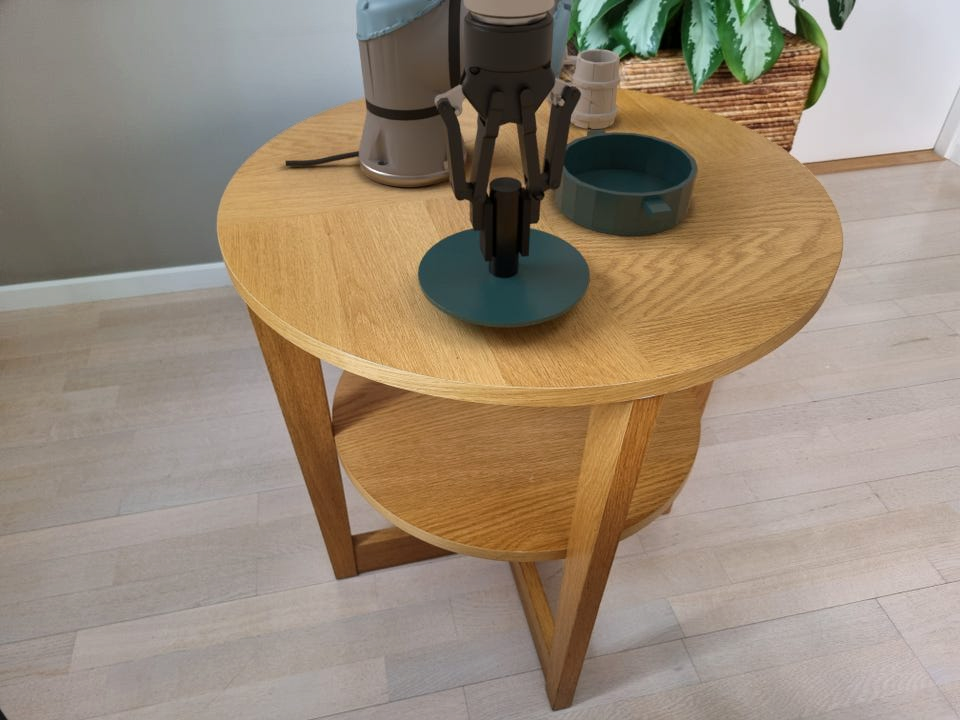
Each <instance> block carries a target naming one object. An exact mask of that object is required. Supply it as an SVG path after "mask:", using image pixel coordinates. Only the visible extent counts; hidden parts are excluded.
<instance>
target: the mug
mask: <svg viewBox="0 0 960 720" xmlns="http://www.w3.org/2000/svg"><path fill="white" fill-rule="evenodd" d="M568 51H569V50H568V45H567V44H566V48H565V53H564V58H563V63H562V68H563V67H564V66H565V65H571V66H572V65H573V66H575V71H574V72H573V74H572V82H573V84H574V85H575V86H576V87H577V88H578V89H579V90H580V92H581V97H580V99H579V101H578V103H577V105H576V107H575V109H574V111H573V113H572V115H571V121H570V124H573V125H574V126H575V127H578V128H581V129H585V130H587V129H590V130H600V129H605V128H608V127H611V126H613V124H614V123H615V119H616V117H617V116H618V112H619V108H618V105H617V94H618V85H619V84H620V83H621V75H620V74H619V72H620V71H619V70H620V61H621V60H620V59H621V58H620V56H619V55H620V54H618V53H617V52H615V51H611V50H609V49H600V48H598V49H597V48H593V49H585V50H581V51H580V52H578V53H577V55H570V54H568V53H569V52H568ZM550 96H551V92H550V93H549V94H548V96H547V97H546V99H545V101H546V103H548V107H549V109H550V110H551V106H552V103H553V102H552V101H551V99H550Z"/></svg>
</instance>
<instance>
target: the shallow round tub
mask: <svg viewBox="0 0 960 720" xmlns="http://www.w3.org/2000/svg"><path fill="white" fill-rule="evenodd" d="M698 171H699V167H698V165H697V162H696V159H695V158H694V157H693V156H692V155H691V154H690V153H689V152H688V150H687V149H685V148H683V147H682V146H679V145H678V144H675V143H674V142H672V141H669V140H666V139H663V138H660V137H657V136H653V135H648V134H641V133H636V132H618V131H611V132H610V131H609V132H607V131H606V130H605V128H602V129H590V130H587V132H586V136H581V137H577V138H575V139H574V140H572V141H570V142H567V147H566V153H565V159H564V166H563V172H562V178H561V184H560V187H559V188H557V189H555V190H554V202H555V205H556V207H557V209H558V210H559V212H560V213H561V214H562V215H563V217H565V218H567V220H569V221H571V222H573V223H575V224H576V225H578V226H580V227H583V228H585V229H588V230H591V231H594V232H598V233H603V234H607V235H614V236H627V237H628V236H629V237H631V236H633V237H634V236H636V237H638V236H647V235H648V236H649V235H653V234H657V233H658V234H659V233H663V232H665V231H668V230H670V229H672V228H674V227H676V226H677V225H679V224H680V223H681V222H683V220H684V219H685V218H686V217H687V215H688V212H689V209H690V207H691V202H692V199H693V194H694V189H695V186H696V180H697V177H698Z"/></svg>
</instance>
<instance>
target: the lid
mask: <svg viewBox="0 0 960 720" xmlns="http://www.w3.org/2000/svg"><path fill="white" fill-rule="evenodd" d="M522 187H523V184H522V182H521V181H520V180H519V179H517V178H515V177H511V176H500V177H496V178H493V179H492V180H491V181H490V182H489V183H488V192H489V193H488V195H489V198H490V200H491V202H492V204H493V246H492V261H486V262H485V260H484V257H483V255H482V252H481V250H480V231H474V229H473V227H472V228H468V229H464V230H461V231H458V232H456V233H453V234H450V235H448V236H446V237H444V238H442V239H440V240H439V241H438V242H436V243H434V245H432V246H430V248H429V249H428V250H427V251H426V252H425V253H424V255H423V256H422V258H421V260H420V262H419V265H418V268H417V280H418V285H419V288H420V291H421V292H422V294H423V296H424V297H425V299H426V300H427V301H428V302H429V303H430V304H431V305H432V306H434V307H435V308H436V309H437V310H439V311H441V313H444V314H445V315H447V316H449V317H452V318H454V319H456V320H459V321H461V322H464V323H468V324H473V325H476V326H483V327H489V328H521V327H522V328H523V327H528V326H529V327H530V326H534V325H539V324H542V323H543V324H544V323H546V322H550V321H551V320H554V319H557V318H559V317H561V316H563V315H565V314H566V313H568V312H570V311H571V310H572V309H574V308H575V307H576V306H578V304H579V303H580V302H581V301H582V300H583V298H584V297H585V295H586V294H587V292H588V289H589V285H590V279H591V273H590V267H589V264H588V262H587V260H586V259H585V257H584V256H583V254H582V253H581V251H579V249H578V248H576V247H575V246H573V244H571V243H570V242H568V241H566V240H565V239H563V238H561V237H559V236H557V235H555V234H552V233H550V232H547V231H543V230H540V229H536V228H532V227H530V241H529V256H525V257H522V256H521V254H520V252H519V246H520V221H521V196H522Z"/></svg>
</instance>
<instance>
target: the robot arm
mask: <svg viewBox="0 0 960 720" xmlns="http://www.w3.org/2000/svg"><path fill="white" fill-rule="evenodd" d="M572 6H573V0H357V1H356V6H355V15H356V33H355V36H356V40H357V42H358V50H359V51H358V52H359V59H360V66H361V67H360V68H361V77H362V83H363V84H362V85H363V91H364V99H365V109H366V114H365V119H364V123H363V128H362V133H361V136H360V137H361V138H360V144H359V148H358V150H357V151H356V150H355V151H350V152H345V153H339V154H334V155H329V156H325V157H321V158H316V159H315V158H314V159H303V160H301V159H298V160H295V159H293V160H290V159H289V160H285V166H286V167H306V166H317V165H322V164H327V163H332V162H336V161H341V160H347V159H353V158H358V161H359V162H358V163H359V168H360V170H361V172H362V173H363V175H364V176H366V177H367V178H368V179H370V180H371V181H374V182H377V183H380V184H382V185H387V186H391V187H393V186H394V187H400V188H417V187H427V186H432V185H436V184H437V185H438V184H440V183H443V182H446V181H449V186H450V188H451V190H452V193H453V195H454V198H455V199H456V200H457V201H459V202H461V201H468V203H469V222H470V224H471V226H472V228H473V229H474V231H480V250H481V252H482V255H483V257H484V260H485V262H486V261H492V246H493V204H492V202H491V200H490V198H489V193H488V192H487V191H488V188H489V180H490V175H491V169H492V164H493V159H494V158H493V157H494V152H495V145H496V140H497V138H498V137H499V132H500V128H501V126H504V125H507V124H516V130H517V137H518V144H519V153H520V160H521V166H522V167H521V168H522V175H523V183H524V185H525V186H522V196H521V221H520V246H519V252H520V254H521V256H522V257H525V256H529V241H530V228H531V225H534V224H538V223H539V221H540V218H541V217H540V215H541V201H543V200H544V199H545V197H546V194H545V192H547V191H549V190H552V191H555V189H557V188H559V187H560V184H561V178H562V172H563V166H564V159H565V153H566V147H567V144H568V139H569V133H570V128H571V115H572V113H573V111H574V109H575V107H576V105H577V103H578V101H579V99H580V97H581V92H580V90H579V89H578V88H577V87H576V86H575V85H574V82H573V80H571V79H569V78H568V79H567V78H566V79H564V80H562V79H560V75H561V71H562V68H563V67H562V63H563V58H564V53H565V48H566V45H567V41H568V37H569V31H570V26H571V25H570V23H571V15H572ZM550 92H551V96H550V99H551V101H552V102H553V103H552V106H551V109H550V112H549V120H548V126H547V134H546V141H545V148H544V156H543V163H542V169H541V165H540V157H539V147H538V146H539V145H538V137H537V132H538V127H537V119H536V114H537V111H538V110H539V108H540V107H541V105H543V103H544V102H545V101H546V97H547V96H548V94H549V93H550ZM465 100H466V101H468V102H469V104H470V105H471V106H472V108H473V109H474V111H475V112H476V113H477V117H476V127H477V129H476V135H475V141H474V147H473V152H472V160H471V167H470V172H469V180H468V181H467V179H466V169H465V168H466V165H467V147H466V143H465V140H464V136H463V134H462V131H461V125H460V122H459V118H458V117H459V116H460V115H461V114H462V113H463V102H464V101H465ZM541 170H542V171H541Z"/></svg>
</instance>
